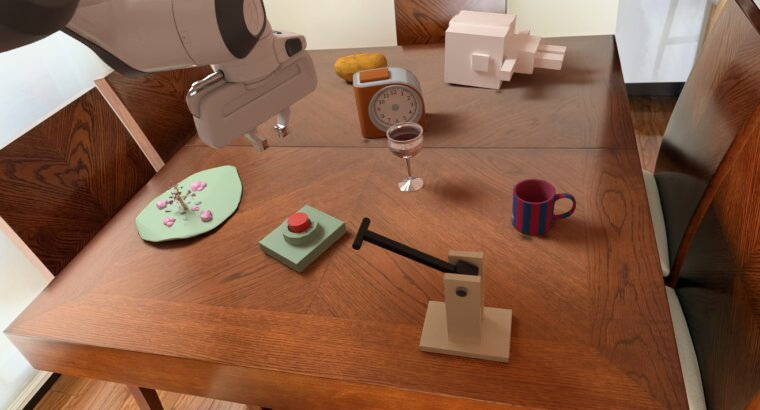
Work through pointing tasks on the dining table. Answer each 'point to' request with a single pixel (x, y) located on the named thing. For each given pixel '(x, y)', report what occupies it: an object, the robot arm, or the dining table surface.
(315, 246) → the button box
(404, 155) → the wineglass
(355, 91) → the alarm clock
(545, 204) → the mug
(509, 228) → the dining table surface
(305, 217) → the button
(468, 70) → the white voxel figure
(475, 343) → the bracket
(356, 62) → the potato
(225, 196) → the plant
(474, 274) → the lever
